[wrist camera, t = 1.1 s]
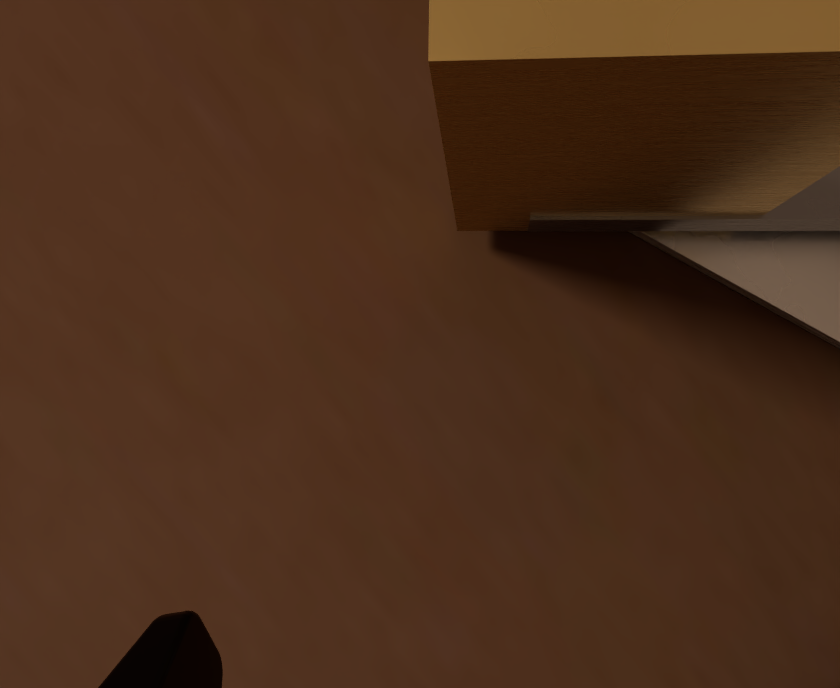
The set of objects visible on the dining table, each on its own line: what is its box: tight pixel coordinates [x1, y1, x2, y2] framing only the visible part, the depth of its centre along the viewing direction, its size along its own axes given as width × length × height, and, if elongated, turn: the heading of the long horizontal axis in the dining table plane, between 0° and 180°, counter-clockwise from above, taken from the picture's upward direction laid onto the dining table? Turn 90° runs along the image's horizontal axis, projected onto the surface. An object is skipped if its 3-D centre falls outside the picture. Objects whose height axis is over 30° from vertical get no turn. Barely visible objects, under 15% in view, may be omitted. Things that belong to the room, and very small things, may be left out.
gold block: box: [428, 0, 840, 232], centre depth 15 cm, size 16×4×11 cm, turn 89°
